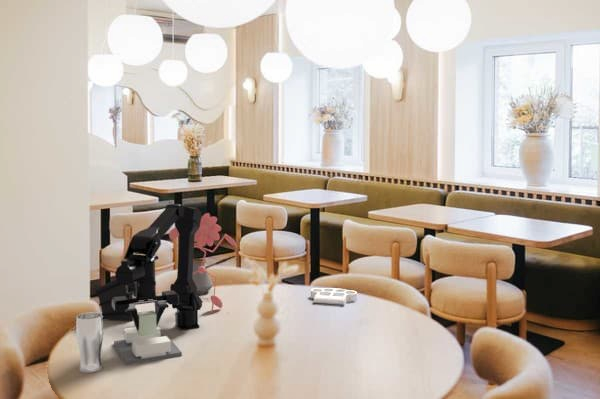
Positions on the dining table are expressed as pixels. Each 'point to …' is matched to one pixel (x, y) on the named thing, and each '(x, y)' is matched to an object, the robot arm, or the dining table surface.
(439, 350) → the dining table surface
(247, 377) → the dining table surface
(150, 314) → the block
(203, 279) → the coffee pot
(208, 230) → the figurine
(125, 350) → the rail panel
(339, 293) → the white holed tray
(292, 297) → the dining table surface
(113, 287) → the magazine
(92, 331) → the beer glass
